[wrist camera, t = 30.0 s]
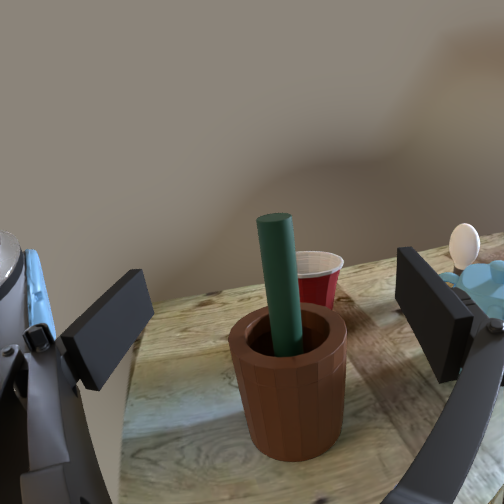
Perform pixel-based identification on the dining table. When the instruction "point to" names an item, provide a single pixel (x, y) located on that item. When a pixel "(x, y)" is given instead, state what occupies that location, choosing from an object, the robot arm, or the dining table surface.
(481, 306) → the decorative pot
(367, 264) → the dining table surface
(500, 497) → the can
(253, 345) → the brown mortar
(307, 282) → the plastic cup
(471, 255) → the light bulb
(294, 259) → the green peg on base
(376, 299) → the dining table surface
